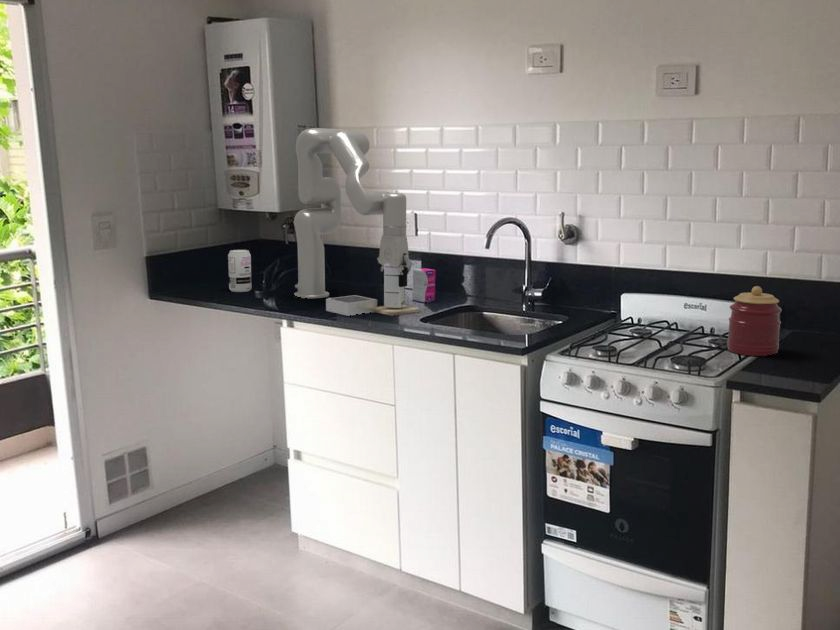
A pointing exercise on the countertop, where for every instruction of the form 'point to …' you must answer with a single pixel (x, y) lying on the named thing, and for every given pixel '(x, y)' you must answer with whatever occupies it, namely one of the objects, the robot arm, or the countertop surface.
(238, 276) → the supplement can
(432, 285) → the supplement box
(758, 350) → the canister
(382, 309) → the birch board
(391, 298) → the syrup box
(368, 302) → the flat grey box
